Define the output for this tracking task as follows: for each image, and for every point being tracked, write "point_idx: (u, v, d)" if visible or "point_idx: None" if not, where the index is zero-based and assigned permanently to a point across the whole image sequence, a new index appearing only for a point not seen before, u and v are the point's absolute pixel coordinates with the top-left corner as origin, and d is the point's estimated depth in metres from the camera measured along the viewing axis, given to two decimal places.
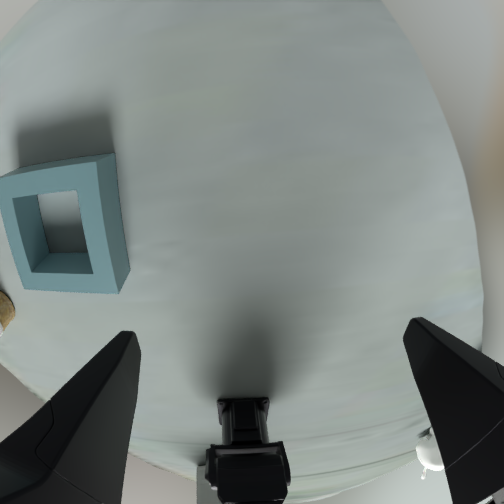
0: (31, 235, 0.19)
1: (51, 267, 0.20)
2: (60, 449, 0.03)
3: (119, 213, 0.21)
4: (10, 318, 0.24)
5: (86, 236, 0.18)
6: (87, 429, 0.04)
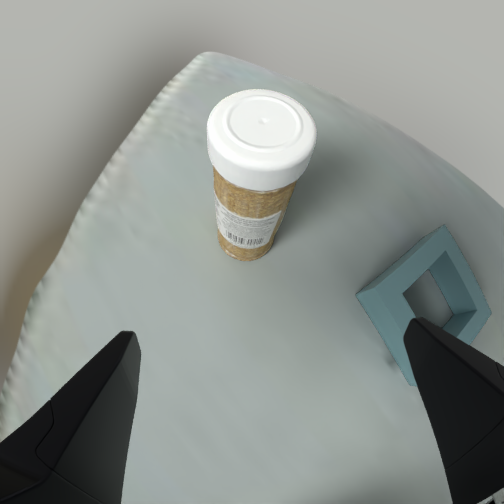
0: None
1: None
2: (60, 449, 0.03)
3: None
4: (247, 255, 0.22)
5: (459, 335, 0.19)
6: (87, 429, 0.04)
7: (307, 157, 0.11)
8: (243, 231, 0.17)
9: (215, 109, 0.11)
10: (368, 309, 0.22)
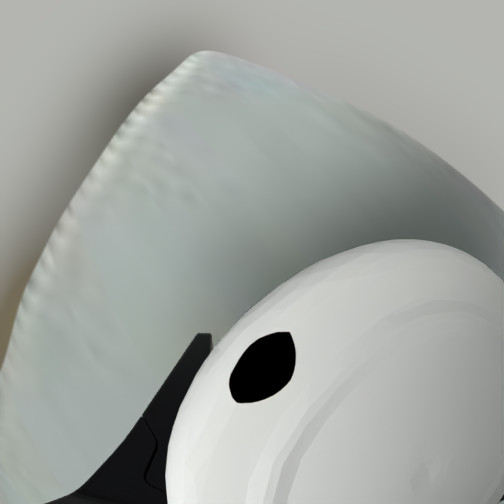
0: None
1: None
2: None
3: None
4: None
5: None
6: None
7: None
8: None
9: (196, 438, 0.02)
10: None
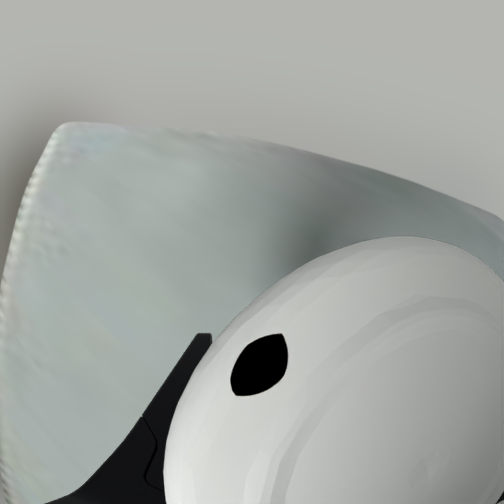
0: None
1: None
2: None
3: None
4: None
5: None
6: None
7: None
8: None
9: (194, 434, 0.02)
10: None
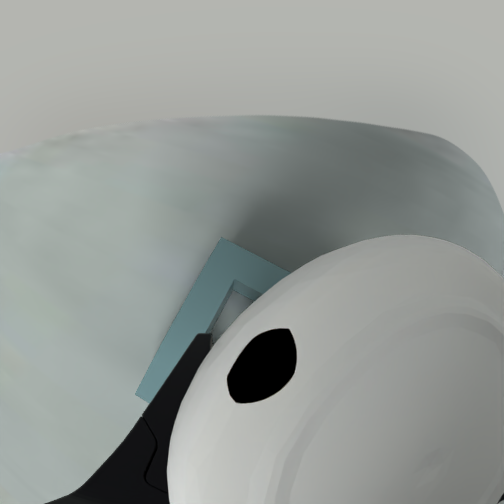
0: None
1: None
2: None
3: None
4: None
5: None
6: None
7: None
8: None
9: (198, 432, 0.02)
10: None
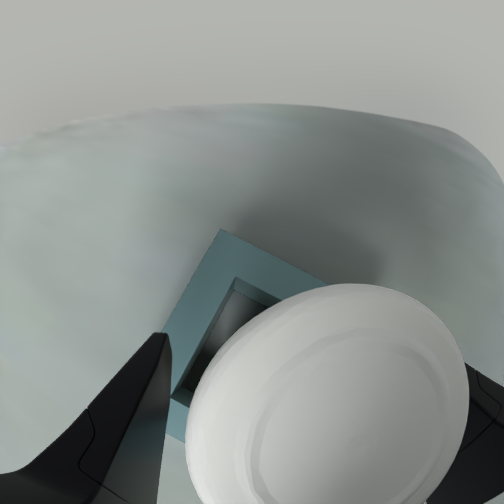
0: (199, 347, 0.14)
1: None
2: (107, 461, 0.03)
3: None
4: None
5: None
6: (131, 437, 0.04)
7: None
8: None
9: (206, 408, 0.03)
10: None
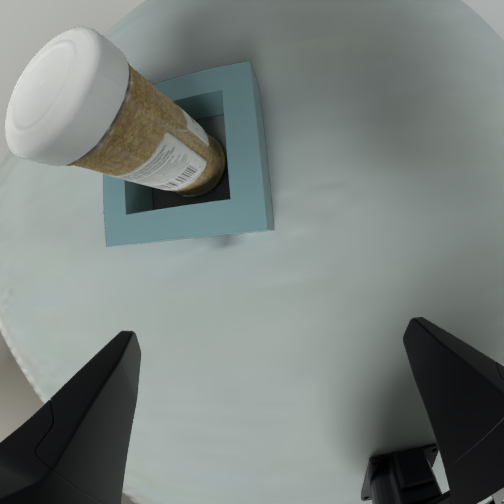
0: None
1: None
2: (60, 449, 0.03)
3: (265, 147, 0.18)
4: (204, 186, 0.17)
5: (228, 142, 0.15)
6: (87, 429, 0.04)
7: (96, 74, 0.06)
8: (157, 178, 0.12)
9: (6, 117, 0.06)
10: (149, 242, 0.19)
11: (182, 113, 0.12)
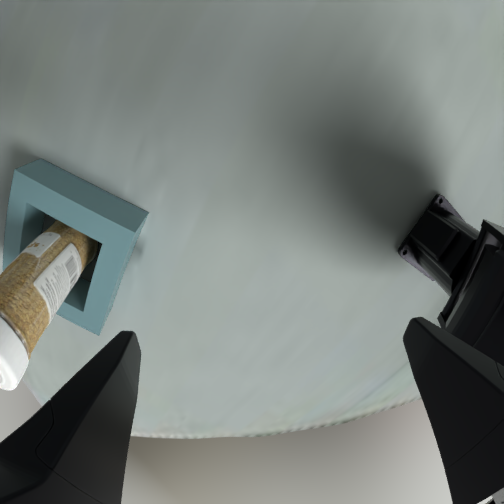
0: None
1: None
2: (60, 449, 0.03)
3: (85, 183, 0.18)
4: (91, 245, 0.19)
5: (64, 221, 0.16)
6: (87, 429, 0.04)
7: None
8: (62, 293, 0.15)
9: None
10: (113, 300, 0.22)
11: (27, 254, 0.13)
